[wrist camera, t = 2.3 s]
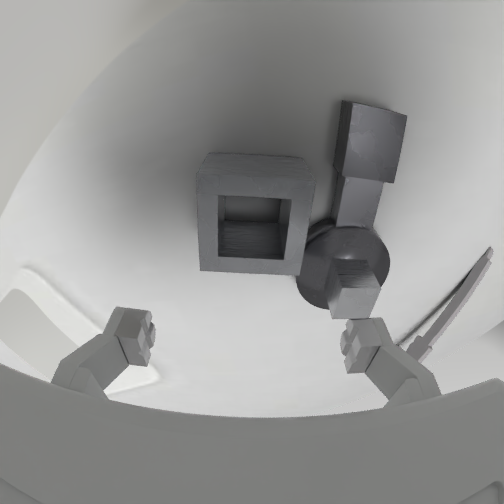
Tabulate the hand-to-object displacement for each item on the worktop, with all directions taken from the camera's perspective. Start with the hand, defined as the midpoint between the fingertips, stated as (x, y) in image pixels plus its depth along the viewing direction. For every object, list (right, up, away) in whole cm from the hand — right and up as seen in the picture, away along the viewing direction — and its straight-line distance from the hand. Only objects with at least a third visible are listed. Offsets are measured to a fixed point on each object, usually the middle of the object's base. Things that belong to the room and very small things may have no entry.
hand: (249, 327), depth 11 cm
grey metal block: (0, +7, +10) cm, 12 cm away
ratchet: (+8, +6, +11) cm, 15 cm away
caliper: (+22, -4, +18) cm, 29 cm away
